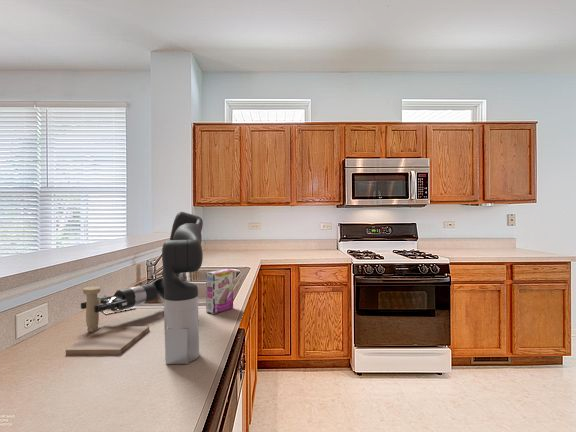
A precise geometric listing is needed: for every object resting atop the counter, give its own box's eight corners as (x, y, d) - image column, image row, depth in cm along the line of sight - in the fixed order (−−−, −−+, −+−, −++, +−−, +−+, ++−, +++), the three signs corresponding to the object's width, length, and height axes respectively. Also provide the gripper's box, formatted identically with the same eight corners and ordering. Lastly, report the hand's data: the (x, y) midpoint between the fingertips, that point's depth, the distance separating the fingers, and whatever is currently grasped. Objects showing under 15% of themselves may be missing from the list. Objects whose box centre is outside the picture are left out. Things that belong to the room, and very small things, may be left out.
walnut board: (119, 354, 101) (119, 349, 101) (65, 354, 101) (65, 349, 101) (149, 330, 121) (149, 326, 121) (103, 330, 121) (103, 326, 121)
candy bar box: (214, 314, 138) (213, 273, 138) (205, 312, 141) (205, 272, 141) (234, 308, 147) (233, 269, 147) (226, 306, 150) (225, 268, 150)
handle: (95, 327, 125) (94, 285, 125) (104, 330, 121) (103, 287, 121) (81, 331, 121) (80, 288, 121) (89, 334, 117) (88, 290, 117)
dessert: (97, 310, 149) (97, 299, 148) (127, 304, 157) (126, 294, 156) (105, 316, 140) (105, 304, 140) (136, 310, 148) (136, 299, 148)
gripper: (119, 285, 137) (76, 294, 123) (142, 289, 130) (99, 299, 116) (119, 304, 137) (77, 315, 124) (142, 309, 130) (99, 321, 116)
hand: (87, 307), depth 120 cm, fingers open, 8 cm apart
